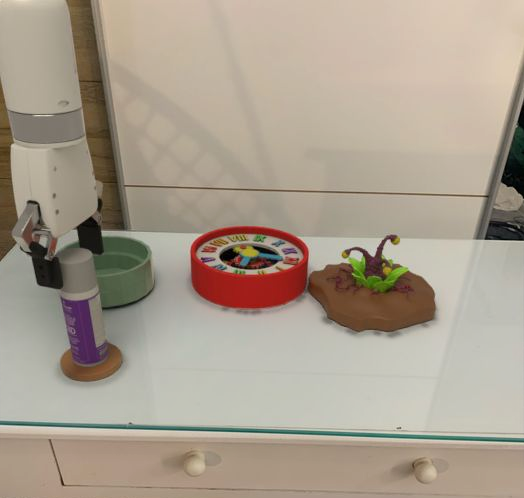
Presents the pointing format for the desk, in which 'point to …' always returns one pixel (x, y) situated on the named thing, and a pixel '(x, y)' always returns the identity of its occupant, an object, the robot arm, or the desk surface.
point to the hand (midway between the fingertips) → (72, 268)
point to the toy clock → (249, 267)
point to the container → (82, 307)
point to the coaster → (91, 372)
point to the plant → (373, 292)
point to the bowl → (122, 270)
